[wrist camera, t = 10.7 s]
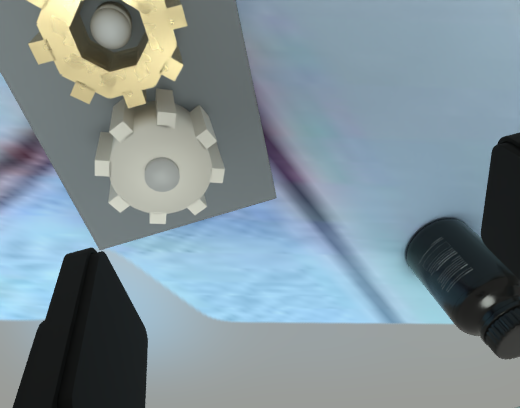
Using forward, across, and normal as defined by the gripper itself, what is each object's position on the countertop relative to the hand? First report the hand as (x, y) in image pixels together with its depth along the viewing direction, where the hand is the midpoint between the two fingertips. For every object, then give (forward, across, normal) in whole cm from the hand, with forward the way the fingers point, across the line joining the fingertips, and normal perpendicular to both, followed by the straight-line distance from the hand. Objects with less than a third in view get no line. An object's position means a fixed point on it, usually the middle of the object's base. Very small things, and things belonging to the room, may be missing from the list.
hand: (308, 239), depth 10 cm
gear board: (+21, +6, -3) cm, 22 cm away
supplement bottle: (+22, -16, +24) cm, 36 cm away
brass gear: (+19, +6, -3) cm, 20 cm away
